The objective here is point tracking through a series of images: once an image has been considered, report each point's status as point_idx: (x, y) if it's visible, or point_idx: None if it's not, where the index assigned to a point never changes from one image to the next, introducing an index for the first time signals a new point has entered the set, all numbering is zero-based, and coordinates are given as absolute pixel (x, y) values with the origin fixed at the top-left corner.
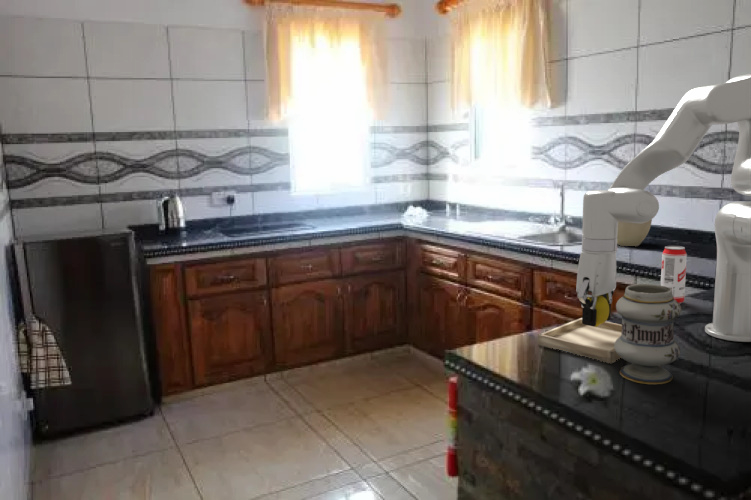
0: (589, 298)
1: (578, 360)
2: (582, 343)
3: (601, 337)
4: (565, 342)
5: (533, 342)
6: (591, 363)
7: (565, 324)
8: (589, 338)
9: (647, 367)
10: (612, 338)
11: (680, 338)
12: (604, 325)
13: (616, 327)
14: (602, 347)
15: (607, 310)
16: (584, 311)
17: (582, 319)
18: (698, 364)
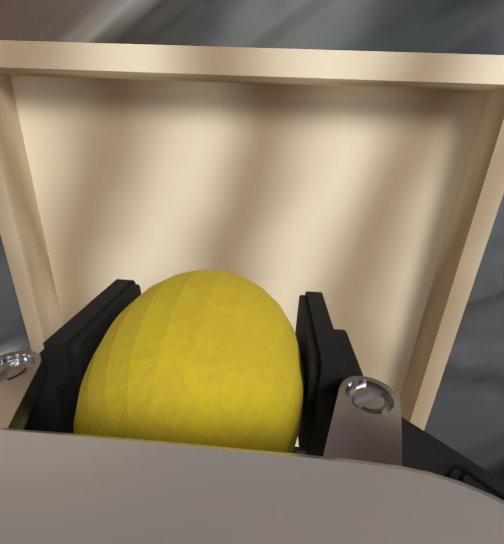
0: (89, 430)
1: (14, 306)
2: (135, 260)
3: (276, 285)
4: (5, 237)
5: (15, 4)
6: (30, 349)
7: (267, 57)
8: (223, 251)
9: None
10: (293, 326)
11: (493, 465)
12: (455, 233)
13: (437, 301)
14: None
15: None
16: (43, 353)
17: (107, 289)
18: None
